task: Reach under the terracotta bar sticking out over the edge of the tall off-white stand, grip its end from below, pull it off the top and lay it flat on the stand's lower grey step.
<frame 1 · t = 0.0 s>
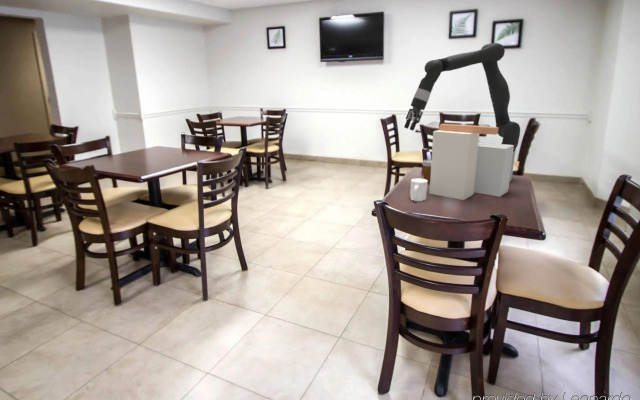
hand: (408, 129, 202), 31 cm above the table, tool tilted 20°, fingers open, 8 cm apart
gable box: (467, 178, 225), on the table
mug: (417, 199, 190), on the table
terracotta bar: (467, 132, 183), point 32 cm above the table, touching stepped stand
stepped stand: (469, 192, 198), on the table
disposable coffee cup: (429, 182, 220), on the table
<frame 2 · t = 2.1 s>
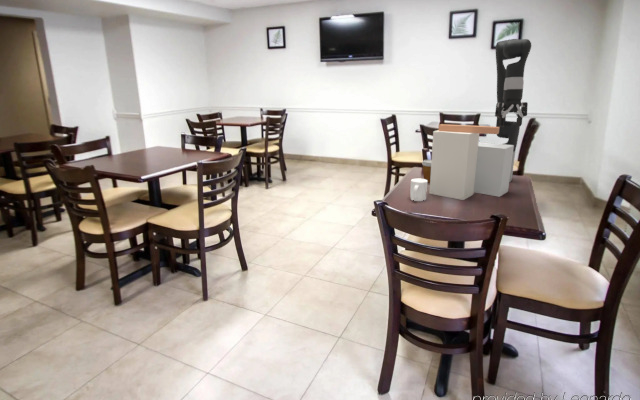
hand: (510, 126, 170), 36 cm above the table, tool pointing down, fingers open, 8 cm apart
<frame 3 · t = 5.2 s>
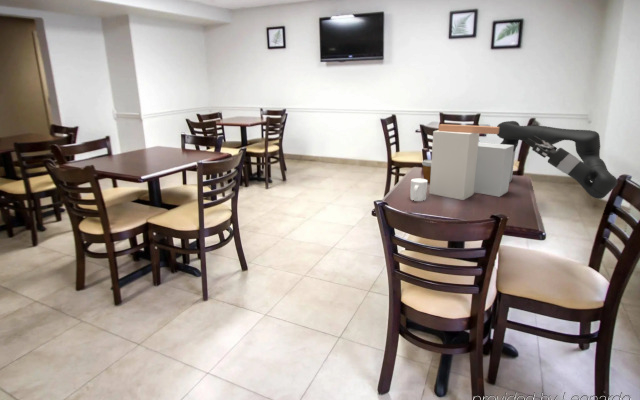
hand: (529, 138, 165), 31 cm above the table, tool pointing upward, fingers open, 8 cm apart
nothing on the table moved.
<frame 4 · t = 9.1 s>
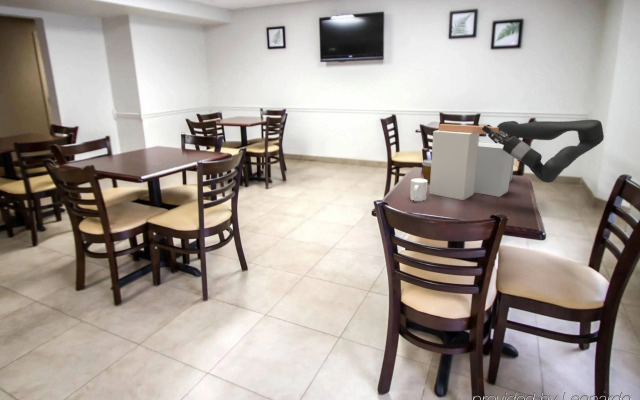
hand: (485, 126, 177), 35 cm above the table, tool pointing upward, fingers open, 3 cm apart
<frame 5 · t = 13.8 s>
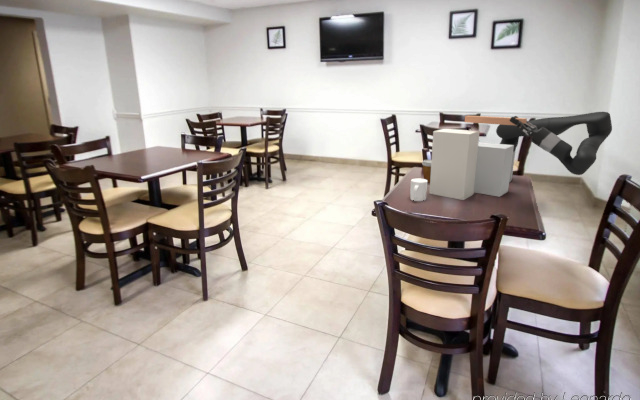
hand: (512, 118, 173), 39 cm above the table, tool pointing upward, fingers closed on terracotta bar, 3 cm apart
terracotta bar: (493, 123, 180), point 36 cm above the table, touching gripper
everything else where it was.
when the fingers open (29 cm above the table, at t = 18.0 s): terracotta bar drops 2 cm, resting on stepped stand.
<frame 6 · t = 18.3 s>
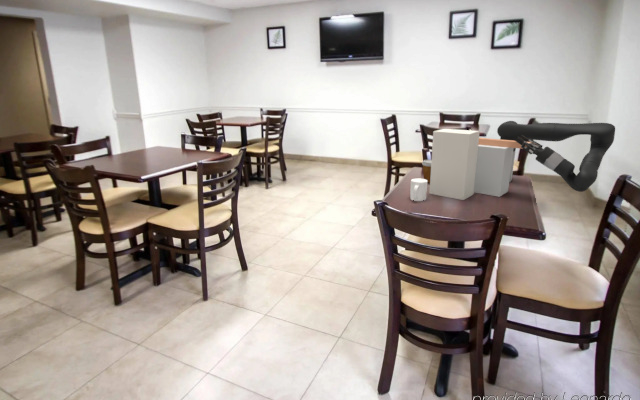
hand: (518, 137, 183), 29 cm above the table, tool pointing upward, fingers open, 5 cm apart
terracotta bar: (499, 146, 190), point 24 cm above the table, touching stepped stand
everything else where it was.
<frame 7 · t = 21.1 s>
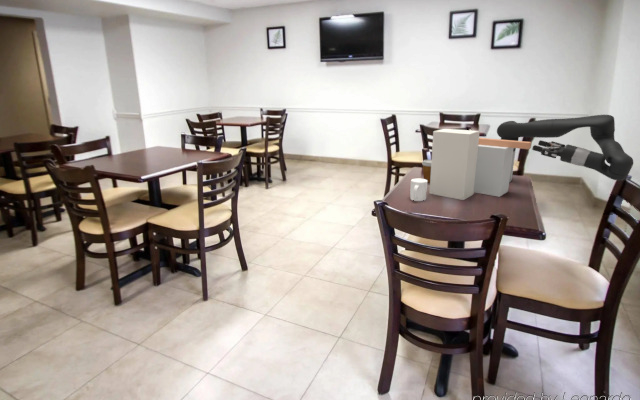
hand: (535, 144, 176), 27 cm above the table, tool horizontal, fingers open, 8 cm apart
nothing on the table moved.
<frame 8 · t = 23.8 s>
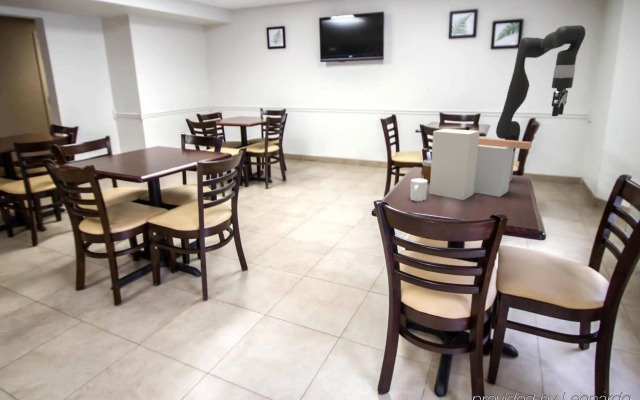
hand: (557, 115, 168), 40 cm above the table, tool pointing down, fingers open, 8 cm apart
nothing on the table moved.
at the end: terracotta bar inside the target area (0.8 cm from its centre), point 24.0 cm above the table; terracotta bar tilted 0°; the gripper is holding nothing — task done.
